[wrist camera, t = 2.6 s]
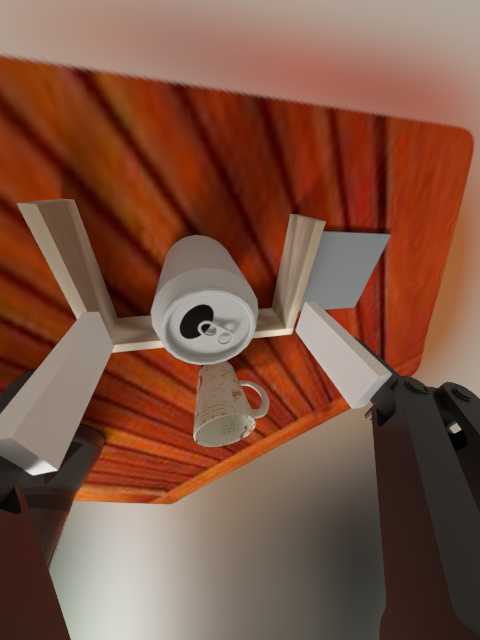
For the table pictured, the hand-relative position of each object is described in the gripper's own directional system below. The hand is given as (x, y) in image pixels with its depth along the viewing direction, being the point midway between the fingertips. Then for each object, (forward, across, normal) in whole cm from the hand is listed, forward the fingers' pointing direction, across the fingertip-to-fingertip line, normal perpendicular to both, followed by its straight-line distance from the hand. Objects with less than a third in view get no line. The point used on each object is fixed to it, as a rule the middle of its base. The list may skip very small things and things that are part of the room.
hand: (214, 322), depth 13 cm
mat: (+11, +18, -1) cm, 22 cm away
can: (+11, 0, 0) cm, 11 cm away
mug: (+11, +4, -19) cm, 23 cm away
